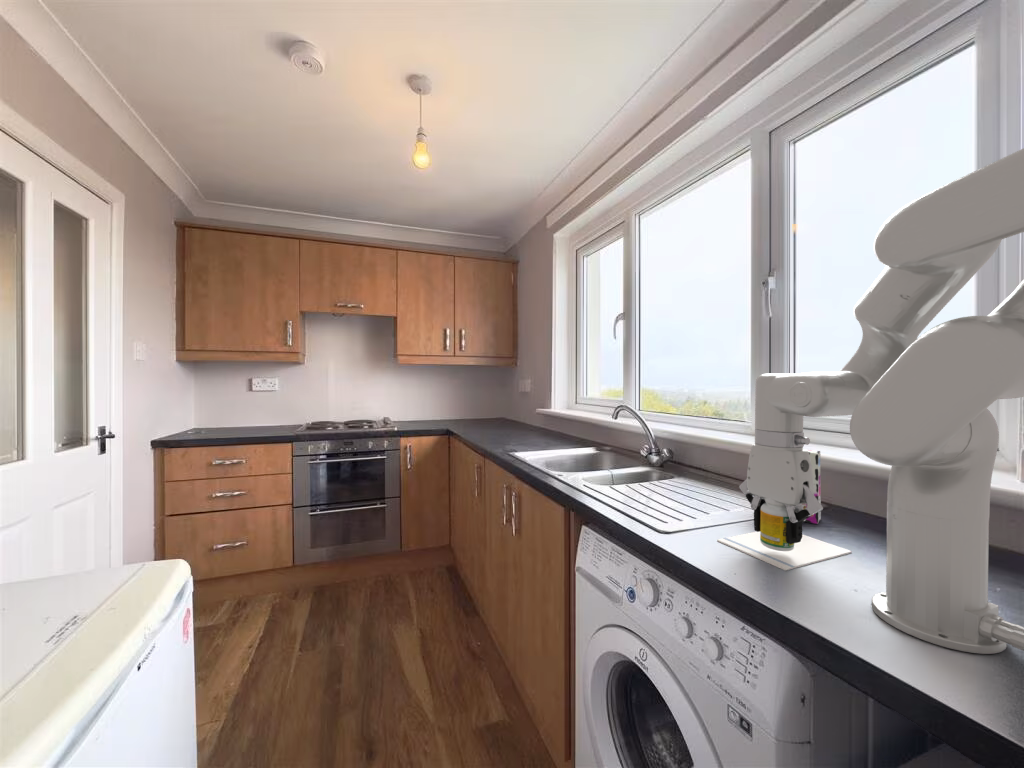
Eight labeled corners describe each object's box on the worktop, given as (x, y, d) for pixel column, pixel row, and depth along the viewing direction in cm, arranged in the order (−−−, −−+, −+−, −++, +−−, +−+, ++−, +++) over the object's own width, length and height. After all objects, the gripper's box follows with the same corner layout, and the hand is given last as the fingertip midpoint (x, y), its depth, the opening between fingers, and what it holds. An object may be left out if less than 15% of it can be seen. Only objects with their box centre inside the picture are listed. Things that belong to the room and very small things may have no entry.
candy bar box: (821, 519, 96) (821, 450, 96) (818, 525, 93) (819, 453, 92) (766, 509, 104) (766, 445, 104) (762, 514, 100) (762, 447, 100)
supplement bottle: (768, 538, 80) (769, 489, 80) (799, 547, 75) (800, 496, 75) (754, 544, 77) (755, 493, 77) (786, 554, 72) (787, 501, 72)
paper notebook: (851, 552, 78) (851, 550, 78) (785, 570, 71) (785, 568, 71) (779, 528, 91) (779, 526, 91) (717, 541, 84) (717, 539, 84)
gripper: (842, 445, 69) (840, 551, 70) (750, 432, 85) (748, 518, 85) (814, 448, 66) (812, 558, 67) (723, 434, 82) (722, 523, 83)
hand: (776, 535), depth 76 cm, fingers closed on supplement bottle, 5 cm apart
